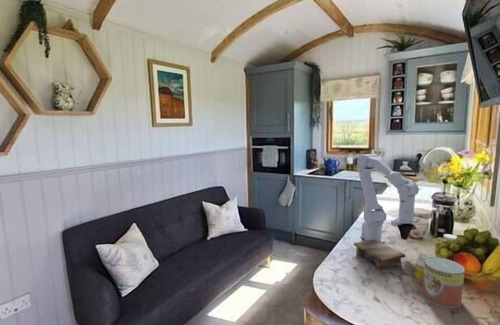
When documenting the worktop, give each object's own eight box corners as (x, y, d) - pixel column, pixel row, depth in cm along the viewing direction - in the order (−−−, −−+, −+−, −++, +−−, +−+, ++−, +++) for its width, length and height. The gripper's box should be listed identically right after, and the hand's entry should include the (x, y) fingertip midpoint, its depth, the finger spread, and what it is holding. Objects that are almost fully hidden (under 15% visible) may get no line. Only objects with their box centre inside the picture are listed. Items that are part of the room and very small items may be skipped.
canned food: (414, 292, 99) (416, 260, 98) (435, 285, 104) (438, 254, 102) (447, 312, 89) (451, 276, 88) (469, 303, 94) (473, 269, 92)
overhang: (353, 253, 130) (353, 242, 129) (374, 249, 134) (374, 239, 133) (381, 271, 114) (382, 259, 113) (404, 266, 118) (405, 254, 117)
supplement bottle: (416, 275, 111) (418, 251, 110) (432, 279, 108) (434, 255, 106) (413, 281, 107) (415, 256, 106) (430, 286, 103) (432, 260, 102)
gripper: (401, 214, 120) (399, 244, 122) (426, 210, 124) (423, 240, 126) (388, 209, 126) (386, 238, 128) (412, 206, 131) (410, 234, 133)
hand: (404, 239), depth 128 cm, fingers closed
